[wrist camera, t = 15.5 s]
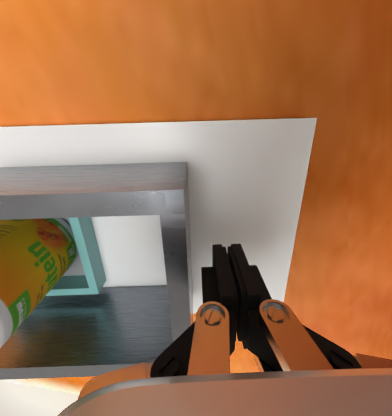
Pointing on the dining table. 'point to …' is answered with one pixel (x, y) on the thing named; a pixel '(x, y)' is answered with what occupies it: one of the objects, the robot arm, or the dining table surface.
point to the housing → (108, 297)
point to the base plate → (198, 195)
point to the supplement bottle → (30, 266)
